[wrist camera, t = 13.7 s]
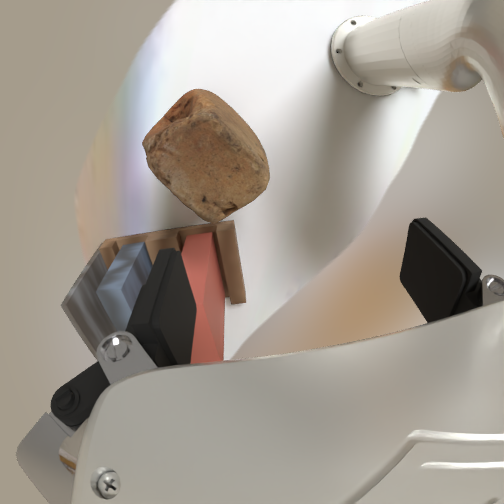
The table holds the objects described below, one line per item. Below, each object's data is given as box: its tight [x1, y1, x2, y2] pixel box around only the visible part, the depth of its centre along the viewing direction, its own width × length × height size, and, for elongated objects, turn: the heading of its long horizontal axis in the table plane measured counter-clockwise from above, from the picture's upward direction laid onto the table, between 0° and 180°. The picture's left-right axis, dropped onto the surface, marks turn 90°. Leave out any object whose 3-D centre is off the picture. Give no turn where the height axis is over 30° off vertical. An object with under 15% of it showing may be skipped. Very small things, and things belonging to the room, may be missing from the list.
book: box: [181, 232, 225, 364], centre depth 39 cm, size 4×12×16 cm, turn 6°
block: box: [142, 89, 270, 223], centre depth 27 cm, size 11×8×20 cm
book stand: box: [61, 220, 246, 361], centre depth 40 cm, size 23×14×16 cm, turn 97°
